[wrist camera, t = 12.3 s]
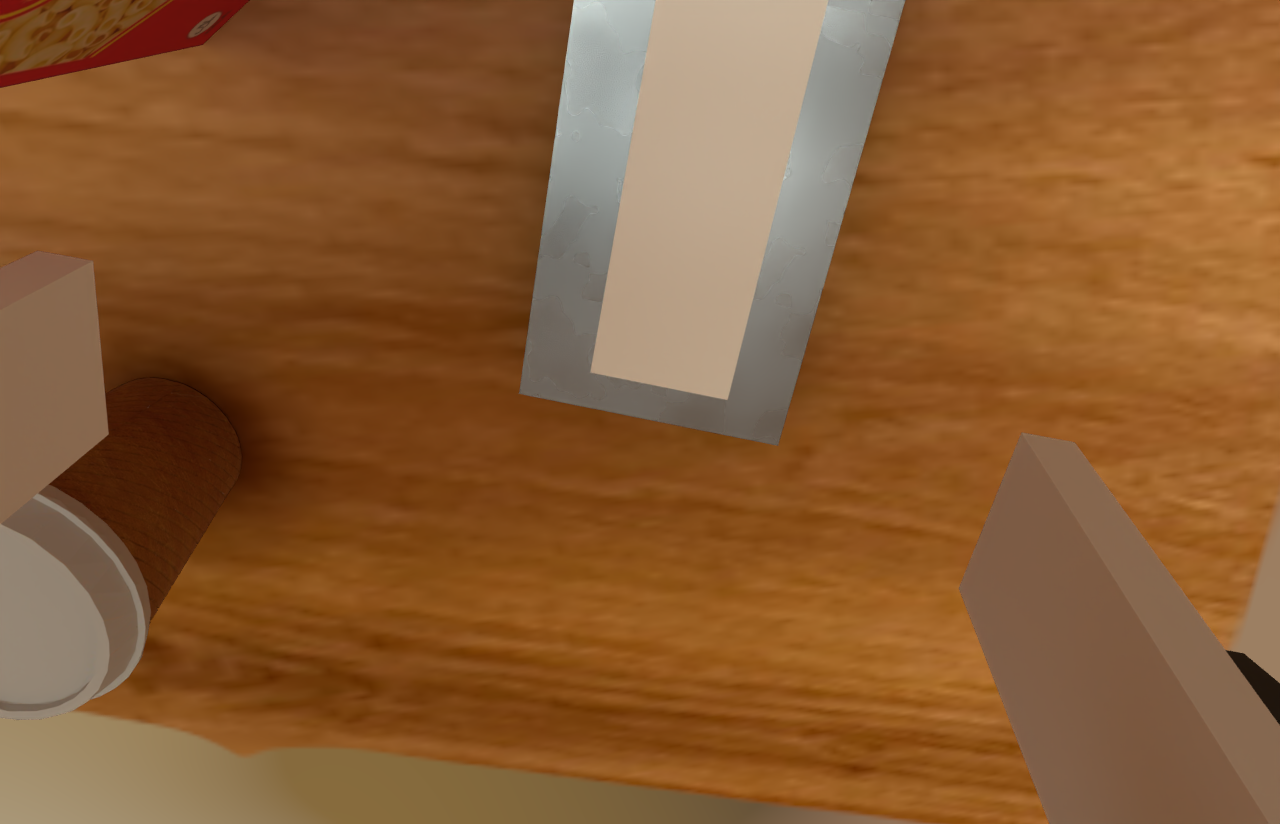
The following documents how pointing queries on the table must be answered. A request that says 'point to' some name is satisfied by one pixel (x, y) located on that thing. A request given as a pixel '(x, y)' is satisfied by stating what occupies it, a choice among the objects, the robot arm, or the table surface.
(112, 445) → the disposable coffee cup
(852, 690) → the table surface
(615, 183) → the grey flat rectangular block
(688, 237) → the white block
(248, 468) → the table surface
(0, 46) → the food packaging
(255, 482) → the table surface
